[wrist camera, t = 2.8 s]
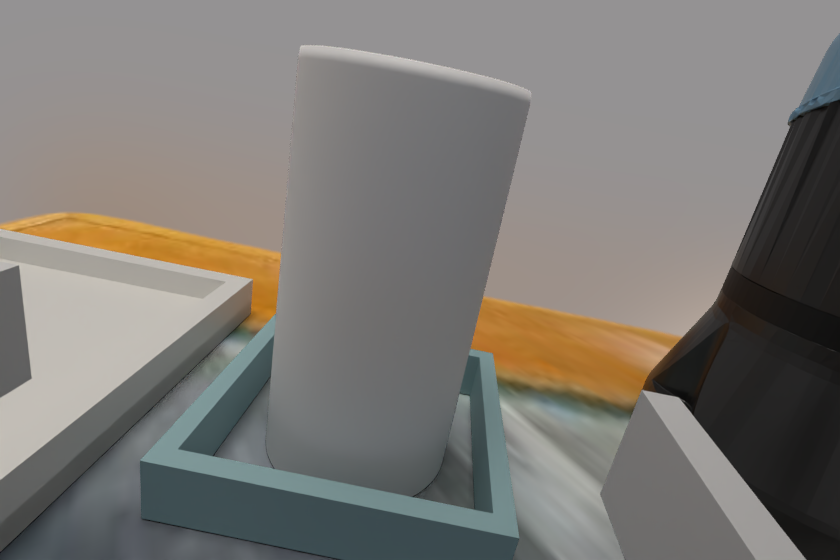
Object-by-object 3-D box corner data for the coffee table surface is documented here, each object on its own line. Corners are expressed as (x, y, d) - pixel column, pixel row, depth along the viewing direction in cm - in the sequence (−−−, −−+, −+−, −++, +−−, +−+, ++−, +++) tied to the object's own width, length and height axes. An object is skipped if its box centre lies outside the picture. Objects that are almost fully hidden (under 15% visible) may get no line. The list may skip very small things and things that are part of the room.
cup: (479, 462, 22) (579, 102, 17) (323, 543, 17) (397, 49, 11) (377, 373, 28) (428, 82, 22) (236, 412, 22) (258, 40, 17)
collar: (275, 348, 28) (278, 310, 27) (482, 390, 28) (492, 353, 27) (141, 518, 16) (139, 460, 15) (500, 592, 16) (519, 538, 15)
